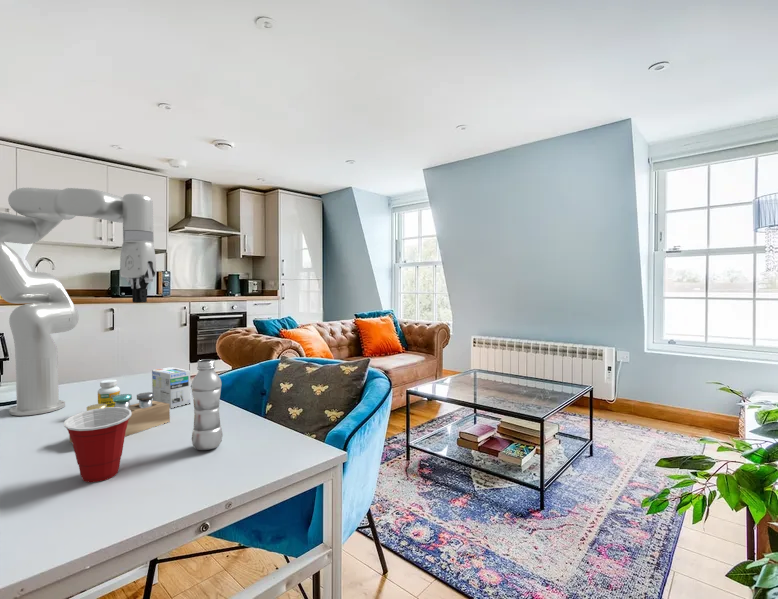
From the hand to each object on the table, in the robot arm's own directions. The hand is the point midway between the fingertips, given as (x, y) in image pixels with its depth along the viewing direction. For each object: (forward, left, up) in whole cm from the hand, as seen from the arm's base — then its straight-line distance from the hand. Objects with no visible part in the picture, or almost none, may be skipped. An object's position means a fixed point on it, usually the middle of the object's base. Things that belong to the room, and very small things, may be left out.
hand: (139, 302), depth 119 cm
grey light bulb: (+11, -6, -31) cm, 34 cm away
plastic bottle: (+39, -10, -32) cm, 52 cm away
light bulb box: (0, +10, -32) cm, 34 cm away
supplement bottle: (-7, -5, -32) cm, 33 cm away
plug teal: (+11, -12, -30) cm, 35 cm away
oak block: (+11, -12, -32) cm, 36 cm away
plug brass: (+11, -18, -31) cm, 38 cm away
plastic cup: (+32, -29, -32) cm, 54 cm away
